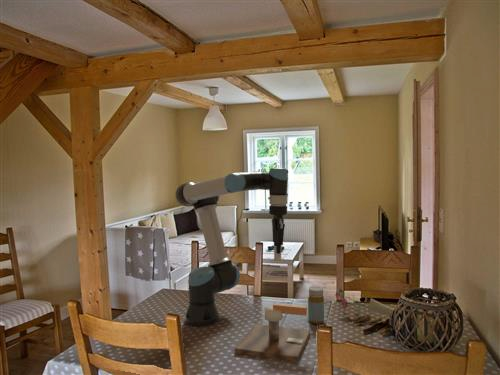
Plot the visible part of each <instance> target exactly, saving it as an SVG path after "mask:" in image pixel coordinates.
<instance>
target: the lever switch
mask: <svg viewBox="0 0 500 375" xmlns="http://www.w3.org/2000/svg"><path fill="white" fill-rule="evenodd" d="M284 314H285V315H295V316H302V317H303V316H305V317H306V316H308V305H307V306H306V305H297V304H287V303H286V304H285V303H277V302H276V303H275V302H274V303H273V304H271V305H266V306H265V307H264V319H265V321H267V322H269V321H270V322H277V321H279V322H281V321H282V320H283V318H284V317H283V315H284Z"/></svg>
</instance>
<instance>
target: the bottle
mask: <svg viewBox="0 0 500 375" xmlns="http://www.w3.org/2000/svg"><path fill="white" fill-rule="evenodd" d="M307 300H308V301H307V318H308V322H309V323H311V324H313V325H321V324H323V323H325V298H324V288H323V287H321V286H310V287H309V288H308V298H307Z"/></svg>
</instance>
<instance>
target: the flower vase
mask: <svg viewBox="0 0 500 375" xmlns="http://www.w3.org/2000/svg"><path fill="white" fill-rule="evenodd" d="M338 287H339V291H338V290H337V291H336V292H335V297H336V298H338V297H341V298H342V299H341V307H342V308H343V309H345V310H347V308H348V305H349V304H350V305H356V306H358V307H357V308H356V309H355V310H354V311H355V315H356V314H357V317H358V318H360V317H359V314H360V313H361V312H362V310H361V307H365V308H364V310H365V309H367V312H369V313H370V312H371V313H376V314H381V315H386V316H389V317H391V316H390V315H391V313H392V312H393V310H394V309H395V308H394V307H390V306H388V305H386V304H383V302H379V301H377V300H375V299H373V298H370V299H369V300H370V301H369V304H368V305H365V304H362V303H361V302H360V301H358V300H357V299H355V298H354V296H355V295H354V294H353V295H352V298H353V299H352V298H350V296H347V295H344V293H343V290H342V289H341V285H340V286H338ZM342 293H343V294H342ZM348 299H349V301H352V302H348Z"/></svg>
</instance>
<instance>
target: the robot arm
mask: <svg viewBox="0 0 500 375" xmlns="http://www.w3.org/2000/svg"><path fill="white" fill-rule="evenodd" d="M288 176H289V175H288V169H287V168H285V167H270V168H269V171H268V172H265V171H251V172H232V173H229V174H227V175H224V176H221V177H217V178H212V179H208V180H205V181H196V182H185V183H182V184H179V186H178V187H177V189H175V200H176V201H177V202H178V204H180V205H181V206H183V207H188V208H189V207H190V208H191V207H193V210H194V212H195V213H197V214H198V216H199V218H198V219H199V221H200V225H201V230H202V234H203V238H204V242H205V247H206V249H207V255H208V259H209V263H208V264H207V266H200V267H196V268H194V269H192V270H190V272H188V281H187V283H188V306H187V310H186V314H185V323H186V324H187V325H189V326H193V327H206V326H207V327H208V326H211V325H214V324H216V323H218V322H219V319H220V313H219V311H218V307H217V306H216V303H215V301H216V300H215V298H216V297H215V296H216V294H220V293H222V292H225V291H229V290H231V289H233V288H235V287H236V286H237V285H238V284H239V282H240V278H241V274H240V269H239V267H238V266H237V265H236V264H235V263H233V262H232V259H231V258H229V257H228V253H227V250H226V247H225V246H226V245H225V243H224V239H223V234H222V231H221V227H220V223H219V219H218V215H217V210H216V209H217V207H218V202H219V200H220V196H225V195H228V194H233V193H239V192H244V191H245V192H246V191H256V190H259V191H260V190H264V191H268V192H269V196H268V197H267V199H268V200H269V208H268V213H269V215H271V216H273V217H272V219H271V228H272V230H271V231H272V242H273V261H274V262H281V261H282V246H283V245H284V237H285V236H284V235H285V228H286V225H285V224H286V223H284V222H285V219H284V217H283V216H286V215H287V214H288V205H287V204H288V180H289V177H288Z"/></svg>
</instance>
